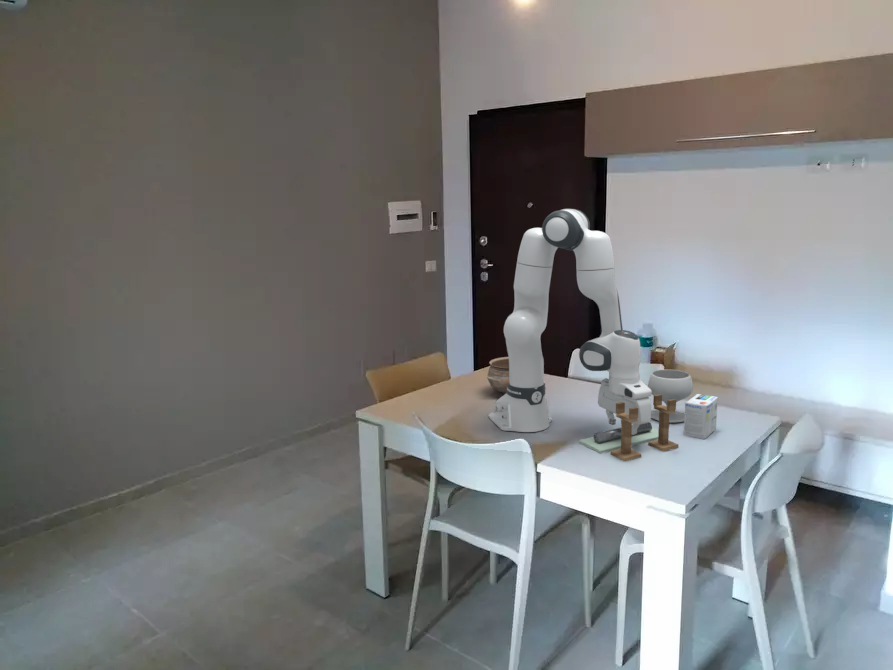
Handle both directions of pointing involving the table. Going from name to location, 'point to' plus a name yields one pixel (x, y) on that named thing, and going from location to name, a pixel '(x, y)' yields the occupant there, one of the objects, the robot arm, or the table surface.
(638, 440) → the mat
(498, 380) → the cooking pot
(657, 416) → the chalice
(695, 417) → the light bulb box
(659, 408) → the hook stands
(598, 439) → the rail
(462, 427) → the table surface
